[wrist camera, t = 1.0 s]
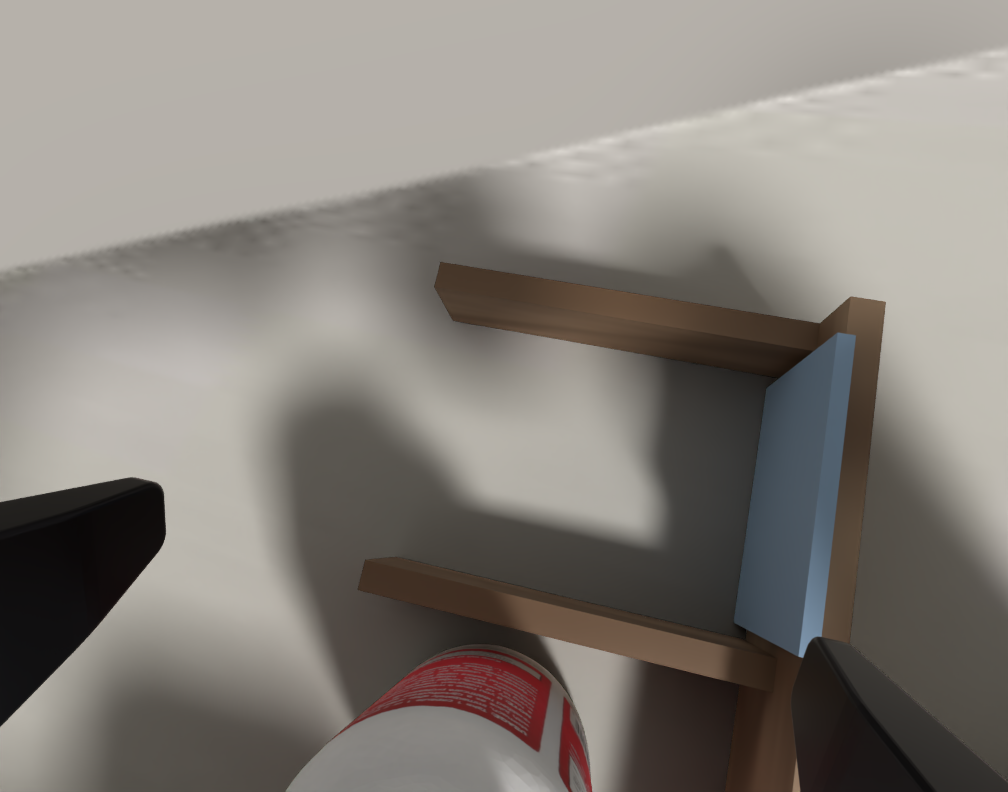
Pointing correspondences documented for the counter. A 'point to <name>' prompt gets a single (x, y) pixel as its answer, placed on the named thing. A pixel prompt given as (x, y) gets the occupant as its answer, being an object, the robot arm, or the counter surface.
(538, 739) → the pill bottle
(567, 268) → the counter surface
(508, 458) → the counter surface
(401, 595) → the divider rack
